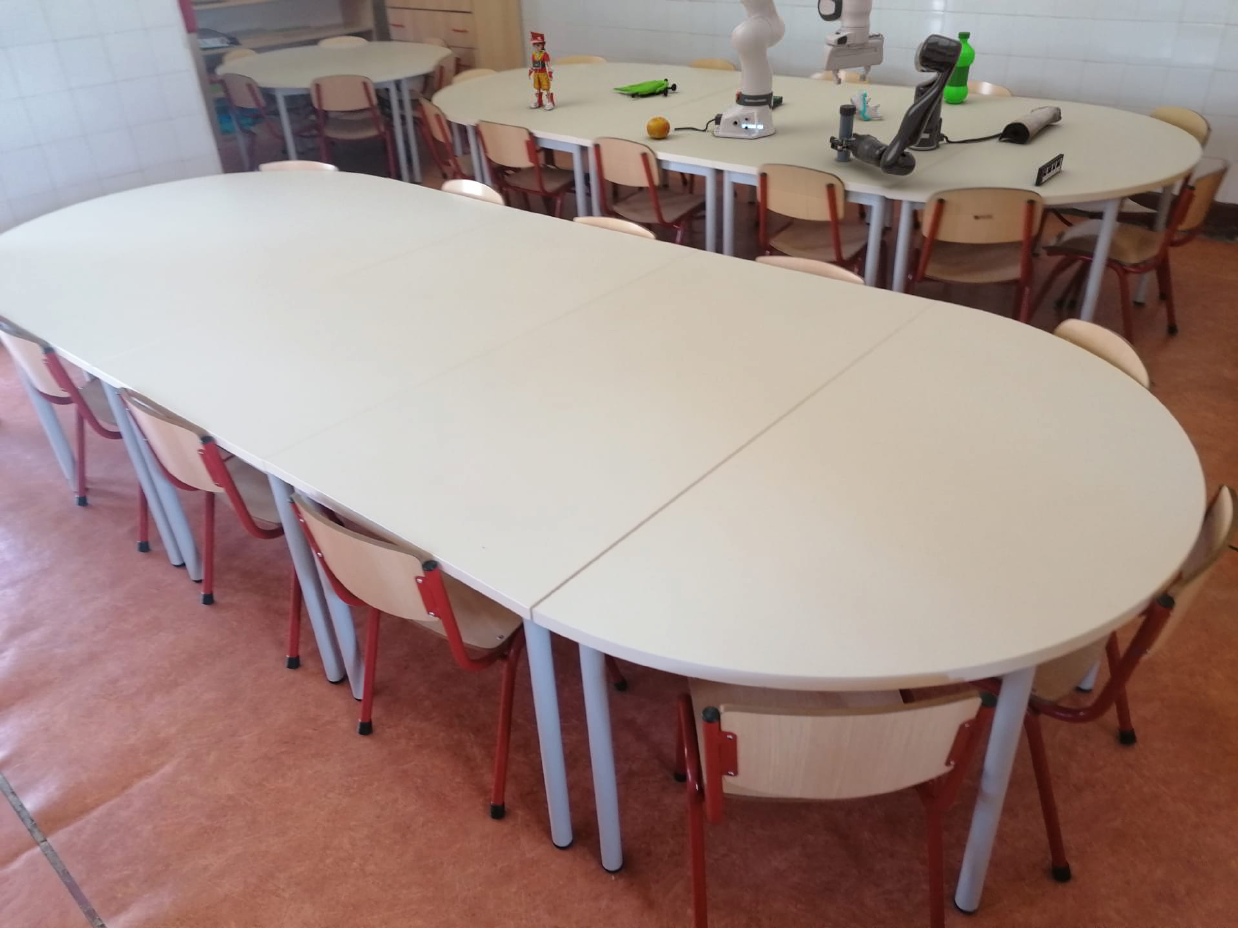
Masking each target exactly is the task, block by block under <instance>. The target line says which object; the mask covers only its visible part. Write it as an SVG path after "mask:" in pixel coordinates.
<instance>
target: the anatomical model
mask: <svg viewBox="0 0 1238 928" xmlns="http://www.w3.org/2000/svg"><path fill="white" fill-rule="evenodd" d="M866 98H867V99H866ZM871 99H872V98H871V97H869V98H868V95H867V92H865V91H864V90H863V89H860V90H859V91H858V93H857V94H855V95H852V96H851V97H850V99H849V100H850V103H851V105H855V106H856V113H860V115H861V117H862V119H863V120H864V121H871V120H872V119H883V117H885V115H884V114H879V113H878V111H877V110H878V109H879V107H880V106H881V104H876V105H873V106H872V105H871V106H869V103H870V101H871Z"/></svg>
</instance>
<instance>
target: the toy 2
mask: <svg viewBox="0 0 1238 928" xmlns="http://www.w3.org/2000/svg"><path fill="white" fill-rule="evenodd" d="M669 85H670V83H669V79H668V78H664V79H663V80H649V81H644V82H640V83H634V84H629V85H627V86H621V87H613V88H612V89H613V90H616V91H619V92H623V93H627V94H628V93H629V94H631V95H630V96H631V98H632V99H634V98H636V96H637V95H650V94H652V93H654V94H658V93H662V95H663V96H665V97H667V96H668V95H669V90H671V91H672V92H676V91H677V84H676V83H672V84H671V86H669Z"/></svg>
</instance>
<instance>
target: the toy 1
mask: <svg viewBox="0 0 1238 928" xmlns="http://www.w3.org/2000/svg"><path fill="white" fill-rule="evenodd" d="M529 33H530V35H531V36H528V37H527V38H528V39H529V40H528V41H527V43H529V44H530V43H531V44H532V48H533V50H534V51H533V52H532V55H531V58H530V59H531V63H530V66H528V74H527V75H528V76H527V77H528V79H529V80H531V75H532V74H533V84H532V85H533V86H532V87H533V88H534V89H535V90H536V92H534V95H535V97H536V100H535V101H533V102H531V105H530V108H531V109H535V108H538V107H542V106H544V101H543V100H544V99H543V95H544V92H546V94H545V97H546V99H547V103H546V104H545V106H544V110H546V111H549V110H553V109H554V107H555V106H556V105H555V99H554V92H551V91H550V90H551V86H552V84H551V82H552V81H553V80H554V77H553V73H554V71H555V70H554V69H552V68H551V63H550V61H551V59H550V58H551V57H550V54H549V53H548V52H547V50H546V48H545V46H546V44H547V41H545V35H544V33H543V32H542V33H539V32H535V31H529Z"/></svg>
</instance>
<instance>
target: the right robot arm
mask: <svg viewBox="0 0 1238 928" xmlns="http://www.w3.org/2000/svg"><path fill="white" fill-rule="evenodd" d="M962 47H963V45H962V42H960V41H959V39H955V38H951V37H948V36H945V35H941V34H937V33H932V34H929V35H928V36H927V37H926V38H925V40H924V41H922V42H920V43H919V44H918V45H917V48H916V49H915V54H914V61H913V63H914V67H915V70H916V71H917V72H918V73H925V74H926V73H927V74H928V73H929V74H930V73H935V75H934V76H933V77H931V78H930V79H927V80H924V81H922V82H919V83H918V84H916V85H915V88H914V96H913V103H912V104H911V105H910V106H909V107H908V109H907V110H906V111H905V114H904V115H903V117H902V119H901V120H902V121H901V123H900V125H899V127H898V130H897V133H896V135H895V136H894V137H893V139H892V140H891V142H890V143H889V144H886V143H884V142H882V141H881V140H879V139H878V138H877V137H876V136H874V135H872V134H870V133H869V134H868V133H867V134H859V133H857V132H853V134H852V138H843V139H838V137H837V136H834V135H831V136H830V137H829V144H830V149H832V150H834V151H836V152H837V151H839V152H842V151H843V150H849V151H851V155H852V156H853V157H854V158H855V159H857V160H860V161H861V162H863V163H866V164H869V165H872V166H873V167H877V168H879V169H880V170H881V172H882V173H883V174H885V175H889V176H891V175H892V176H898V177H906V176H909V175H910V174H912V173H913V172H914V170H915V169H916V165H917V160H916V157H915V155H914V154H913V153H911V152H909V151H908V150H906V149H907V148H909V149H911V150H915V151H930V150H931V151H932V150H934V149H936V148H938V147H939V145H940V142H944V141H945V142H946V143H948V144H965V143H973V142H980V141H985V140H986V141H987V140H990V139H994V138H999V137H1000V135H1001V134H1002V132H1003V131H1001V132H998V133H996V134H992V135H987V136H983V137H976V138H966V139H962V140H950V139H949V137H948V136H947V135H946V134H945V133H943V132H942V127H943V126H942V124H943V117H941V116H942V115H941V114H942V108H943V101H944V97H943V94H944V89H945V87H946V85H947V83H948V81H949V79H950V77H951V76H952V74H953V72H954V70H955V68H956V65H957V63H958V61H959V58H960V55H961V52H962ZM839 141H841V142H839ZM845 141H847V142H846V145H844V144H845Z"/></svg>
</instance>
